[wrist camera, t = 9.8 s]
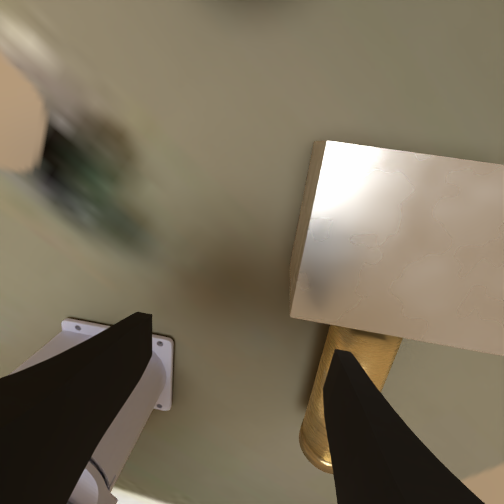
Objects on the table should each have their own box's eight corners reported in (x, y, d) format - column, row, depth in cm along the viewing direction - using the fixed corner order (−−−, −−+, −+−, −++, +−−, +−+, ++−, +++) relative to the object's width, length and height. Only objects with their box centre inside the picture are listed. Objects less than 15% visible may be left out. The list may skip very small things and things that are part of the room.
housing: (289, 264, 20) (289, 317, 14) (313, 141, 17) (327, 140, 11) (438, 289, 19) (506, 356, 13) (491, 165, 16) (610, 179, 10)
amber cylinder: (298, 413, 23) (299, 466, 19) (329, 297, 19) (338, 335, 15) (348, 424, 23) (360, 480, 19) (391, 308, 19) (416, 350, 15)
